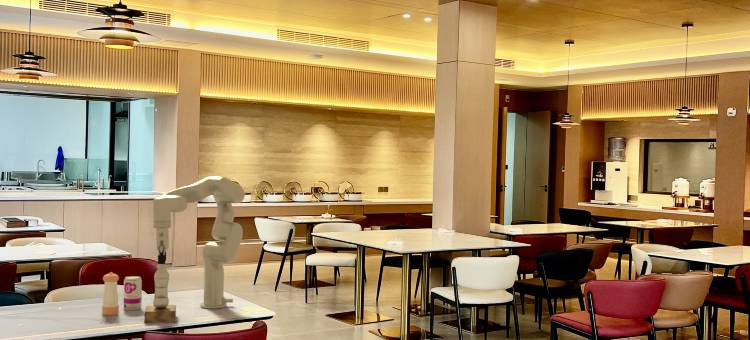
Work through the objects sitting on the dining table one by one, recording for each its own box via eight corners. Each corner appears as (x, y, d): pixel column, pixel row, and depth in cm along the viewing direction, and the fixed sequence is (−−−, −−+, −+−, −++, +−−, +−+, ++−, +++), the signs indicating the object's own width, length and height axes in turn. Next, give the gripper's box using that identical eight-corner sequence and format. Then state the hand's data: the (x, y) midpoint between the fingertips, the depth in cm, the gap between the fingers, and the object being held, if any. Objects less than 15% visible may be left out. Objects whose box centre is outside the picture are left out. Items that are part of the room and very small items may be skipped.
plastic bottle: (154, 306, 340) (155, 262, 340) (170, 306, 340) (170, 263, 340) (151, 309, 333) (152, 264, 333) (167, 309, 334) (167, 265, 334)
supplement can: (135, 310, 354) (136, 279, 354) (120, 309, 356) (120, 278, 355) (144, 307, 362) (145, 276, 362) (129, 306, 364) (129, 275, 363)
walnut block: (175, 315, 345) (175, 305, 345) (175, 322, 332) (175, 310, 332) (146, 316, 342) (146, 305, 342) (144, 323, 329) (144, 311, 329)
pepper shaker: (122, 312, 349) (122, 271, 349) (111, 315, 342) (112, 274, 342) (109, 311, 352) (109, 270, 351) (98, 314, 345) (99, 272, 344)
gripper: (170, 226, 329) (170, 265, 329) (171, 222, 346) (171, 259, 346) (152, 226, 327) (152, 265, 328) (154, 222, 344) (154, 259, 344)
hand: (162, 262), depth 337 cm, fingers open, 9 cm apart
